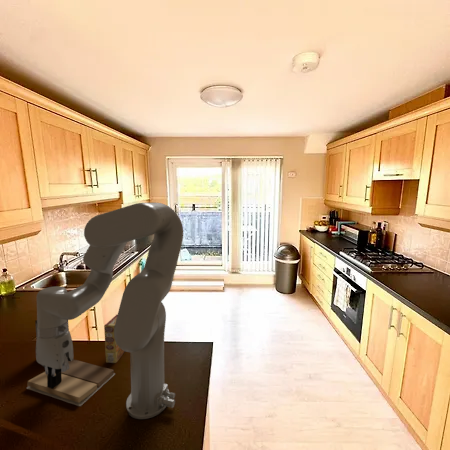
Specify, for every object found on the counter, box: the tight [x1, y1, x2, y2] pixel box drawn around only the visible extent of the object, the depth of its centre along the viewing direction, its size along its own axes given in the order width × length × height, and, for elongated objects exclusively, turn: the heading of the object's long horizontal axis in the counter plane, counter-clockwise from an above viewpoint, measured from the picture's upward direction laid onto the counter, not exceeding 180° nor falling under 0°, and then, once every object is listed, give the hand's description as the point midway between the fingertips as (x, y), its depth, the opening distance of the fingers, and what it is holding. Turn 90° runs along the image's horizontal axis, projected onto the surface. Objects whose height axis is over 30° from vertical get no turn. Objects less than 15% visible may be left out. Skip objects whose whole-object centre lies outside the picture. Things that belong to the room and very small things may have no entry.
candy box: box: [103, 314, 126, 364], centre depth 92 cm, size 9×4×15 cm, turn 176°
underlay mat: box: [26, 372, 116, 407], centre depth 79 cm, size 22×14×1 cm, turn 73°
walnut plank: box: [61, 358, 115, 388], centre depth 83 cm, size 21×6×2 cm, turn 73°
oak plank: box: [27, 371, 97, 403], centre depth 76 cm, size 21×6×2 cm, turn 73°
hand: (54, 384), depth 74 cm, fingers closed
